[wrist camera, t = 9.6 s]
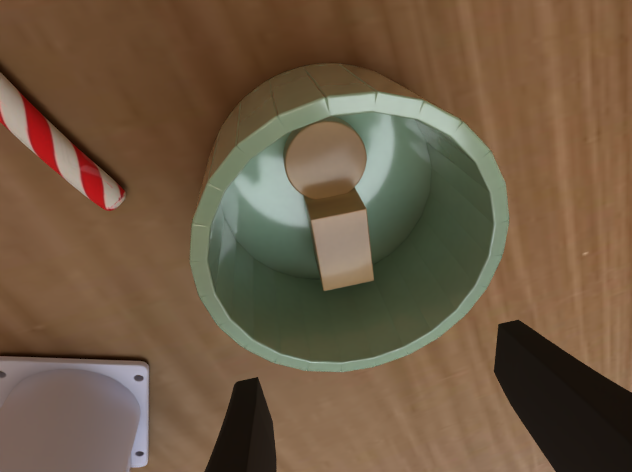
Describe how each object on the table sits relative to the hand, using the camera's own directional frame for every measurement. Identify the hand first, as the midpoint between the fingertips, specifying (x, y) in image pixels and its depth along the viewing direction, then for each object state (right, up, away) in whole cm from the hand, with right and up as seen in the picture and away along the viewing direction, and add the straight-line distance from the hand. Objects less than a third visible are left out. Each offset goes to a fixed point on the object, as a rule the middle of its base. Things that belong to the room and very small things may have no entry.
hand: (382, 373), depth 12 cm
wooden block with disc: (-1, +6, +7) cm, 10 cm away
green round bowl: (-1, +6, +8) cm, 10 cm away
